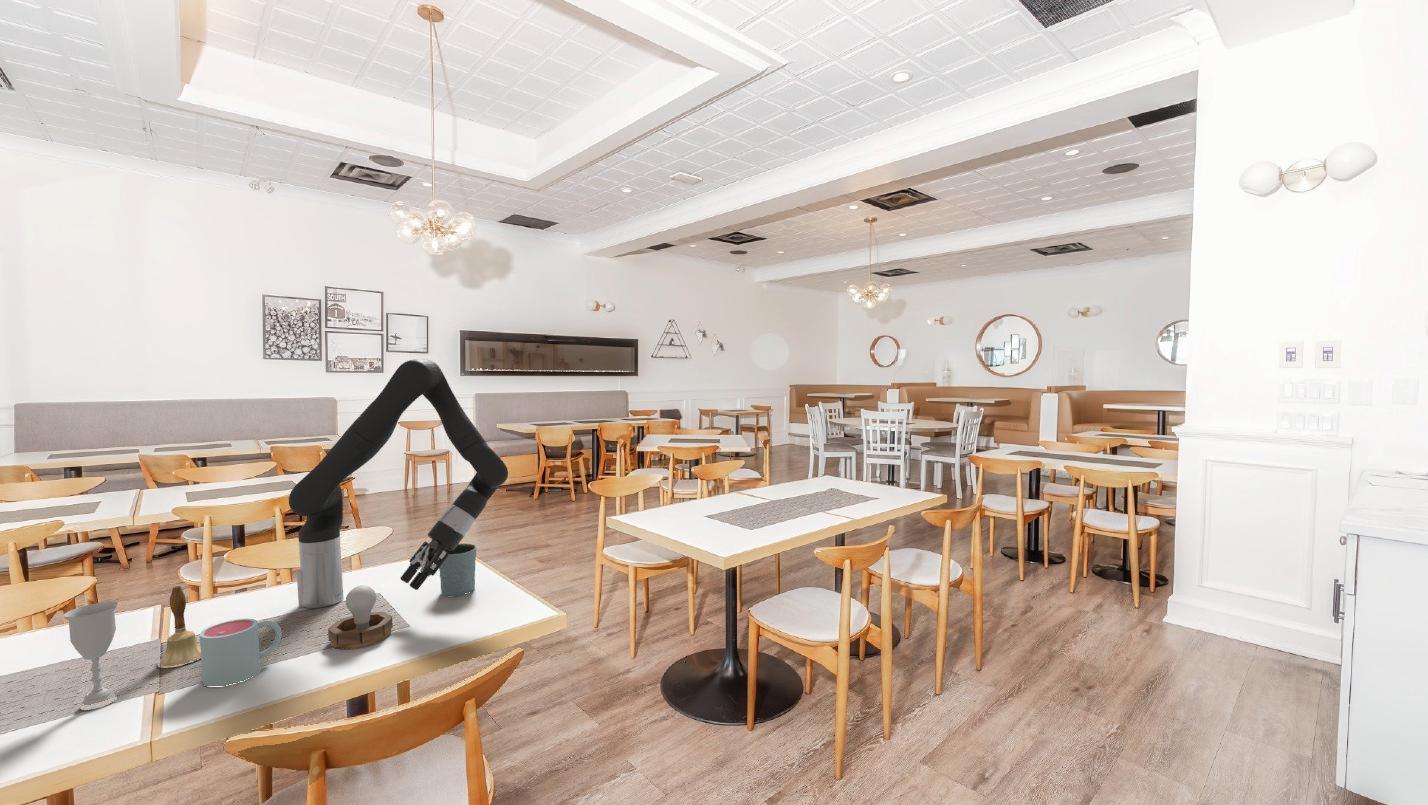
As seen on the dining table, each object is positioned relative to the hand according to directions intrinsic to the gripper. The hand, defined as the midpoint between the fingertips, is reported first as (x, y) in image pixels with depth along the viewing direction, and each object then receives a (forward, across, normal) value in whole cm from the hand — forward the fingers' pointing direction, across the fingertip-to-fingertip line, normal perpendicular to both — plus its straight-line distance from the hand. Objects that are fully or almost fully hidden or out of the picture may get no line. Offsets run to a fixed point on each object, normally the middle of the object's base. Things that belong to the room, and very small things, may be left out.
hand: (408, 584), depth 149 cm
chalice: (+44, -1, -33) cm, 55 cm away
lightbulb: (+13, +1, -2) cm, 14 cm away
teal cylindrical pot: (-4, -14, +17) cm, 23 cm away
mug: (+29, +2, -17) cm, 34 cm away
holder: (+14, +1, -1) cm, 14 cm away
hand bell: (+35, -14, -25) cm, 45 cm away
